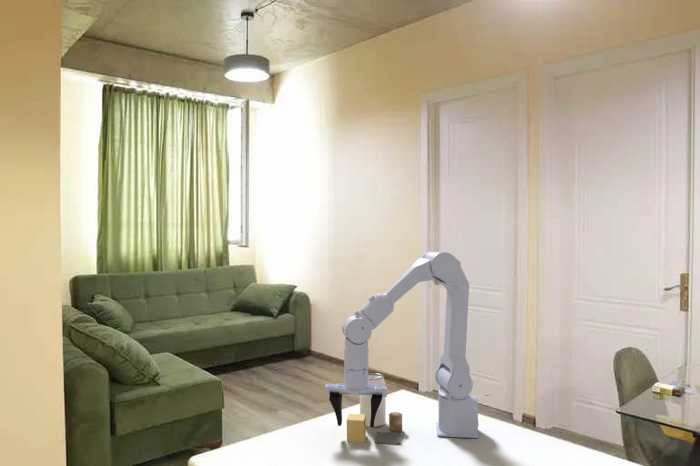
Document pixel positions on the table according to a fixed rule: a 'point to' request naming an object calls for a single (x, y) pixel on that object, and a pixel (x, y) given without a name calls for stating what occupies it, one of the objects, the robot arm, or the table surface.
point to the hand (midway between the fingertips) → (356, 425)
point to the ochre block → (356, 427)
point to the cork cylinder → (395, 422)
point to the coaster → (388, 438)
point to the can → (366, 402)
